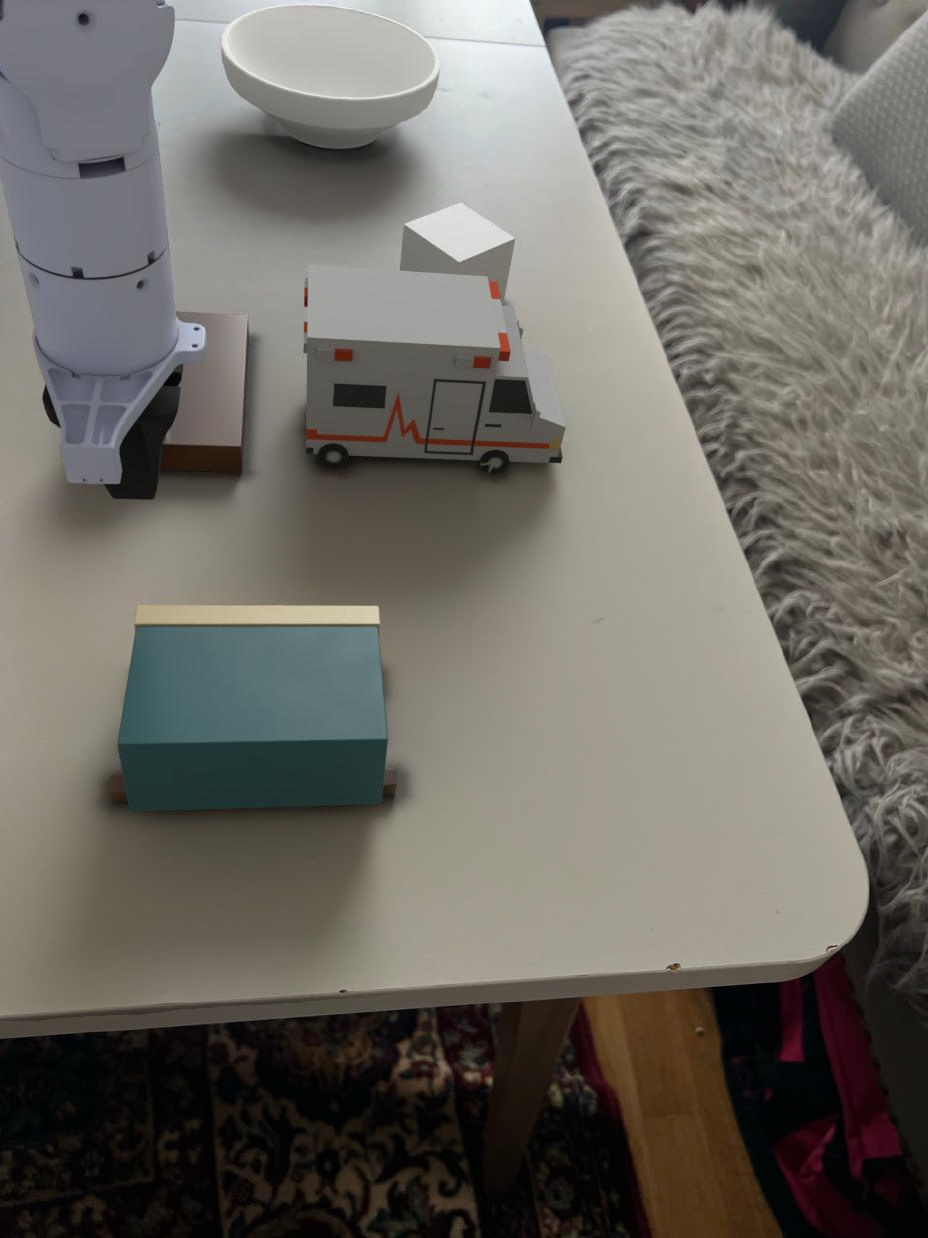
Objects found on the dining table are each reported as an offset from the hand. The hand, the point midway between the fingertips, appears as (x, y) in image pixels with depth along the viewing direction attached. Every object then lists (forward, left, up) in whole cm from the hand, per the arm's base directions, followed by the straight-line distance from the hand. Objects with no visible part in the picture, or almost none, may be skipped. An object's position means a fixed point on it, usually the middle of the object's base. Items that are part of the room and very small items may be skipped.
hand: (134, 489), depth 50 cm
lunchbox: (+6, -13, -6) cm, 15 cm away
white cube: (+20, +32, -10) cm, 39 cm away
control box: (0, +19, -9) cm, 21 cm away
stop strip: (+6, -12, -9) cm, 16 cm away
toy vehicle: (+17, +16, -10) cm, 25 cm away
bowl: (+11, +59, -10) cm, 61 cm away
